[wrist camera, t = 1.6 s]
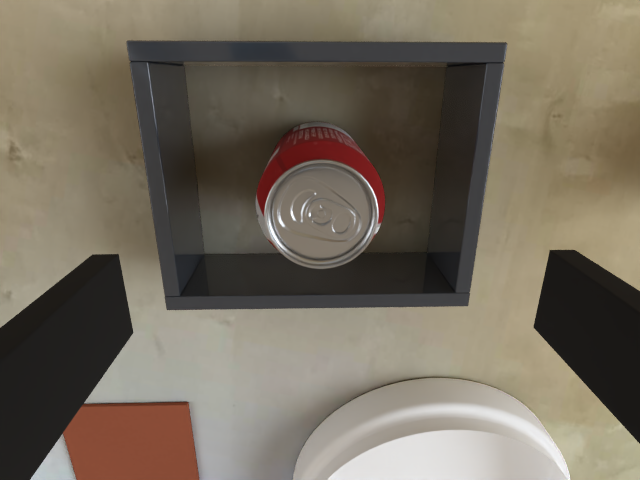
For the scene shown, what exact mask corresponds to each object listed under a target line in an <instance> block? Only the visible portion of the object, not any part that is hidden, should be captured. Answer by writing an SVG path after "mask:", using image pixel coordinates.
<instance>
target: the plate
mask: <svg viewBox="0 0 640 480" xmlns="http://www.w3.org/2000/svg"><path fill="white" fill-rule="evenodd" d="M293 480H570V474H569V471H568V467H567V464H566V462H565V460H564V457H563V455H562V453H561V451H560V450H559V448H558V447H557V445H556V444H555V442H554V441H553V440H552V438H551V437H550V435H549V434H548V432H547V431H546V429H545V428H544V426H543V425H542V423H541V422H540V420H539V419H538V418H537V417H536V416H535V415H534V414H533V412H532V411H531V410H530V409H528V408H527V407H526V406H525V405H524V404H523V403H521V402H520V401H518V400H517V399H515V398H514V397H512V396H511V395H509V394H507V393H505V392H503V391H501V390H499V389H496V388H493V387H491V386H488V385H485V384H481V383H477V382H474V381H468V380H462V379H452V378H425V379H414V380H409V381H403V382H398V383H394V384H391V385H387V386H384V387H381V388H378V389H375V390H372V391H370V392H368V393H365V394H363V395H361V396H359V397H357V398H355V399H353V400H352V401H350V402H348V403H346V404H345V405H343V406H342V407H340V408H339V409H337V410H336V411H335V412H333V413H332V414H331V415H330V416H328V417H327V418H326V419H325V420H324V421H323V422H322V423H321V424H320V425H319V426H318V427H317V428H316V429H315V430H314V432H313V433H312V434H311V436H310V437H309V438H308V439H307V441H306V443H305V445H304V446H303V448H302V450H301V452H300V454H299V457H298V459H297V462H296V466H295V470H294V475H293Z"/></svg>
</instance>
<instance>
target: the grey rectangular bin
mask: <svg viewBox="0 0 640 480" xmlns="http://www.w3.org/2000/svg"><path fill="white" fill-rule="evenodd" d="M126 43H127V49H128V56H129V60H130V61H131V62H130V69H131V75H132V82H133V89H134V95H135V102H136V108H137V115H138V122H139V128H140V135H141V141H142V148H143V155H144V161H145V168H146V174H147V181H148V188H149V194H150V201H151V208H152V214H153V221H154V227H155V234H156V241H157V247H158V254H159V260H160V267H161V274H162V280H163V287H164V293H165V302H166V308H167V310H202V309H281V308H359V307H438V306H468V302H469V296H470V293H469V292H470V288H471V281H472V275H473V268H474V261H475V255H476V248H477V241H478V235H479V228H480V222H481V215H482V208H483V202H484V195H485V188H486V182H487V175H488V169H489V162H490V155H491V149H492V142H493V135H494V129H495V122H496V116H497V109H498V102H499V96H500V89H501V83H502V76H503V69H504V61H505V56H506V49H507V43H506V42H328V41H133V40H128V41H127V42H126ZM183 65H207V66H447V67H446V76H445V86H444V95H443V105H442V114H441V124H440V133H439V143H438V152H437V162H436V172H435V181H434V191H433V200H432V210H431V219H430V229H429V239H428V248H427V252H411V253H361V254H359V255H358V256H357V257H356V258H354V259H353V260H351V261H349V262H347V263H345V264H343V265H340V266H337V267H333V268H326V269H316V268H309V267H305V266H302V265H299V264H297V263H294V262H292V261H291V260H289V259H288V258H286V257H285V256H284V255H283V254H204V244H203V235H202V226H201V216H200V207H199V198H198V188H197V179H196V170H195V160H194V151H193V142H192V133H191V123H190V114H189V105H188V95H187V86H186V77H185V67H184V66H183Z"/></svg>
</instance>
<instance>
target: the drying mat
mask: <svg viewBox="0 0 640 480" xmlns="http://www.w3.org/2000/svg"><path fill="white" fill-rule="evenodd" d="M63 434H64V438H65V441H66V445H67V448H68V452H69V455H70V458H71V462H72V465H73V469H74V472H75V476H76V479H77V480H199V474H198V467H197V460H196V453H195V446H194V439H193V432H192V425H191V418H190V411H189V404H188V402H170V403H117V404H83V405H82V406H81V408H80V409H79V411H78V412H77V414H76V415H75V416H74V418H73V419H72V421H71V422H70V423H69V425H68V426H67V428H66V429H65V431H64V432H63Z"/></svg>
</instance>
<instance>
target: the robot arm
mask: <svg viewBox="0 0 640 480" xmlns="http://www.w3.org/2000/svg"><path fill="white" fill-rule="evenodd" d="M534 328H535V329H536V331H537V332H538V333H539V334H540V335H541V336H542V337H543V338H544V339H545V340H546V341H547V343H548V344H549V345H550V346H551V347H552V348H553V349H554V350H555V351H556V352H557V354H558V355H559V356H560V357H561V358H562V359H563V360H564V361H565V362H566V363H567V364H568V366H569V367H570V368H571V369H572V370H573V371H574V372H575V373H576V374H577V375H578V376H579V378H580V379H581V380H582V381H583V382H584V383H585V384H586V385H587V386H588V387H589V389H590V390H591V391H592V392H593V393H594V394H595V395H596V396H597V397H598V398H599V399H600V401H601V402H602V403H603V404H604V405H605V406H606V407H607V408H608V409H609V410H610V412H611V413H612V414H613V415H614V416H615V417H616V418H617V419H618V420H619V421H620V422H621V424H622V425H623V426H624V427H625V428H626V429H627V430H628V431H629V432H630V433H631V435H632V436H633V437H634V438H635V439H636V440H637V441H638V442H639V443H640V291H639V290H637V289H635V288H634V287H632V286H631V285H629V284H628V283H626V282H624V281H623V280H621V279H620V278H618V277H616V276H615V275H613V274H612V273H610V272H609V271H607V270H605V269H604V268H602V267H601V266H599V265H598V264H596V263H594V262H593V261H591V260H590V259H588V258H586V257H585V256H583V255H582V254H580V253H579V252H577V251H575V250H550V252H549V257H548V262H547V266H546V271H545V276H544V281H543V285H542V290H541V295H540V299H539V304H538V309H537V313H536V318H535V323H534ZM132 334H133V328H132V323H131V318H130V313H129V307H128V302H127V297H126V291H125V286H124V281H123V276H122V270H121V265H120V260H119V254H102V255H92V256H90V257H89V258H88V259H87V260H85V261H84V262H83V263H82V264H80V265H79V266H78V267H76V268H75V269H74V270H73V271H71V272H70V273H69V274H68V275H66V276H65V277H64V278H63V279H61V280H60V281H59V282H58V283H56V284H55V285H54V286H53V287H51V288H50V289H49V290H48V291H46V292H45V293H44V294H43V295H41V296H40V297H39V298H37V299H36V300H35V301H34V302H32V303H31V304H30V305H29V306H27V307H26V308H25V309H24V310H22V311H21V312H20V313H19V314H17V315H16V316H15V317H14V318H12V319H11V320H10V321H9V322H7V323H6V324H5V325H4V326H2V327H1V328H0V480H30V479H31V477H32V476H33V475H34V473H35V472H36V470H37V469H38V468H39V466H40V465H41V463H42V462H43V460H44V459H45V458H46V456H47V455H48V453H49V452H50V450H51V449H52V448H53V446H54V445H55V443H56V442H57V441H58V439H59V438H60V436H61V435H62V433H63V432H64V431H65V429H66V428H67V426H68V425H69V423H70V422H71V421H72V419H73V418H74V416H75V415H76V414H77V412H78V411H79V409H80V408H81V406H82V405H83V404H84V402H85V401H86V399H87V398H88V396H89V395H90V394H91V392H92V391H93V389H94V388H95V386H96V385H97V384H98V382H99V381H100V379H101V378H102V377H103V375H104V374H105V372H106V371H107V369H108V368H109V367H110V365H111V364H112V362H113V361H114V359H115V358H116V357H117V355H118V354H119V352H120V351H121V350H122V348H123V347H124V345H125V344H126V342H127V341H128V340H129V338H130V337H131V335H132Z"/></svg>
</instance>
